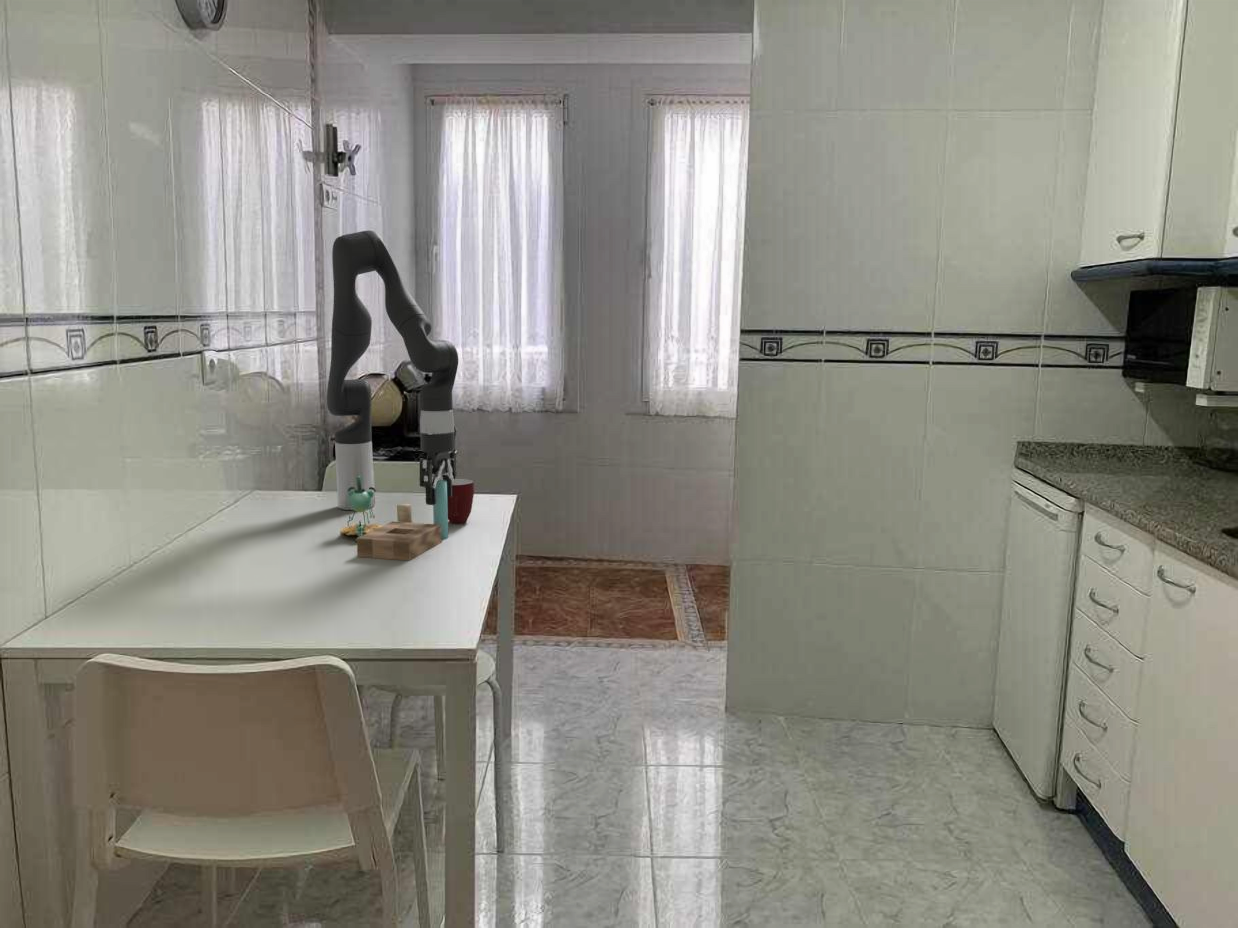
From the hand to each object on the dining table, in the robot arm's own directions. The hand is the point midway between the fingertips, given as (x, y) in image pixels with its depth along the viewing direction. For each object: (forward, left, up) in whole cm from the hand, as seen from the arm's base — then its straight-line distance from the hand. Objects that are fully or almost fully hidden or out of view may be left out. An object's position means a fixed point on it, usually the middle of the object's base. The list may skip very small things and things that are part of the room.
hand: (439, 500), depth 220 cm
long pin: (0, 0, -9) cm, 9 cm away
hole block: (+12, -4, -9) cm, 15 cm away
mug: (-14, -2, -9) cm, 17 cm away
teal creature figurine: (+2, -19, -9) cm, 21 cm away
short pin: (0, -9, -9) cm, 12 cm away
